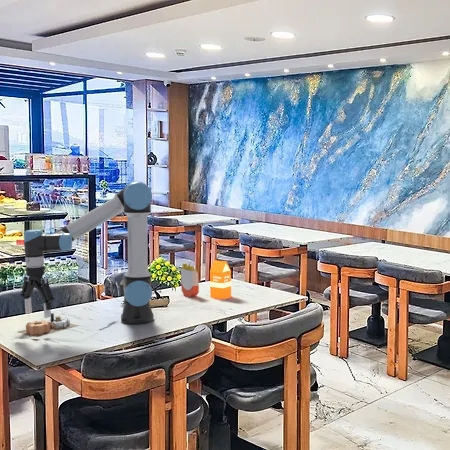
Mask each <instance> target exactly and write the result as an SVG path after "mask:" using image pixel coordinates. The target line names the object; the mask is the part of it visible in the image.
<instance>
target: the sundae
mask: <svg viewBox="0 0 450 450" xmlns="http://www.w3.org/2000/svg"><path fill="white" fill-rule="evenodd" d="M117 285H118V286H119V289H120V293H121V296H122V297H124V280H123V277H122V278H121V281H120V282H119V283H118V284H117ZM122 302H124V300H123V301H122Z"/></svg>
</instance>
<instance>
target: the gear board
mask: <svg viewBox="0 0 450 450" xmlns="http://www.w3.org/2000/svg"><path fill="white" fill-rule="evenodd" d="M61 318H62V317H61V316H56V317H55V316H54V319H56V322H58V321H61ZM37 324H41V323H40V322H35V325H37ZM78 326H79V324H75V323H71V322H70V326H67V327H66V328H59V329H55V328H51V329H50V330H49V332H45V333H42V334H33V335H31V334H30V333H26V329H23V330H20V331H17V334H18V333H19V334H23V335H26V336H29V337H30V336H31V337H34V338H31V340H32V341H36V342H37V341H40V340H41V339H39V338H38V337H42V336H46V335H50V334H54V333H58V332H60V331H64V330H68V329H71V328H75V327H78ZM36 338H37V339H36Z"/></svg>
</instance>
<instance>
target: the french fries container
mask: <svg viewBox="0 0 450 450" xmlns="http://www.w3.org/2000/svg"><path fill="white" fill-rule="evenodd" d="M180 276H181V277H180V279H181V283H180V286H181V287H180V289H181V292H182V294H183V295H185V297H189V298H192V297H197V295H198V294H199V292H200V290H199V289H200V285H199V269H195V266H194V265H191V264H188V263H182V267H181V268H180Z"/></svg>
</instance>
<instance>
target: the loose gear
mask: <svg viewBox="0 0 450 450" xmlns="http://www.w3.org/2000/svg"><path fill="white" fill-rule="evenodd" d="M47 321H48V322H47ZM35 322H40V323H41V324H37V325H35ZM25 330H26V333H30V334H31V335H33V334H42V333H45V332H49V330H50V322H49V320H43V319H42V320H33V321H31V322H27V323H26V324H25Z"/></svg>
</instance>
